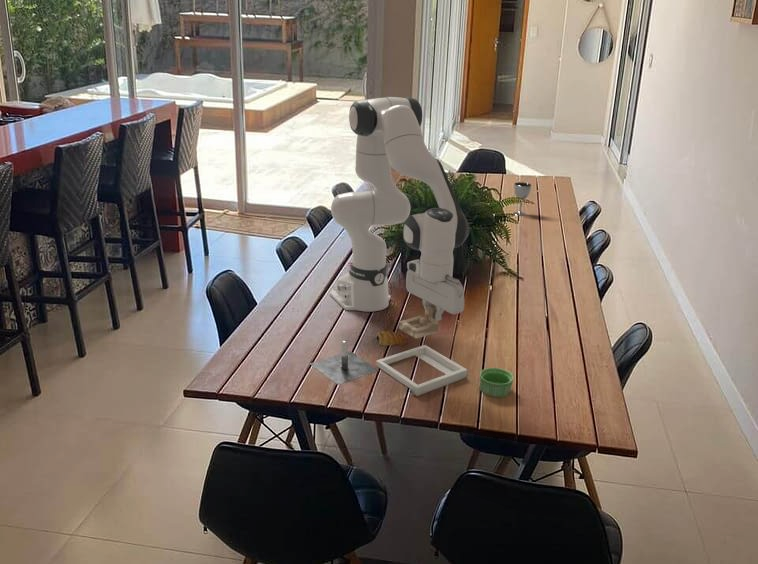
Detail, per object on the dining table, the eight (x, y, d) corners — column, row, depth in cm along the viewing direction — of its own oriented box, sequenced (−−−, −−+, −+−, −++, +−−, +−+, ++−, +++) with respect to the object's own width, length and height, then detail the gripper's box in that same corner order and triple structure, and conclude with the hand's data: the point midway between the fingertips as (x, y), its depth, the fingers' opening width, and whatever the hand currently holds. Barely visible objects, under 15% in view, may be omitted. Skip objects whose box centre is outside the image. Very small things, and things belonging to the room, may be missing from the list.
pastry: (403, 337, 219) (404, 326, 217) (409, 347, 213) (410, 336, 211) (373, 339, 217) (374, 328, 215) (379, 350, 211) (379, 338, 209)
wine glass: (508, 211, 355) (511, 182, 349) (522, 211, 357) (526, 182, 351) (516, 216, 348) (519, 186, 342) (530, 215, 350) (534, 185, 344)
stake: (309, 366, 199) (309, 337, 196) (350, 354, 207) (351, 326, 204) (337, 388, 189) (337, 358, 185) (379, 373, 197) (380, 344, 193)
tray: (375, 368, 199) (376, 360, 198) (424, 352, 210) (425, 344, 209) (416, 396, 186) (417, 388, 185) (466, 377, 196) (467, 369, 195)
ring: (398, 328, 192) (399, 308, 190) (426, 320, 198) (427, 300, 196) (416, 338, 187) (417, 318, 184) (444, 329, 192) (446, 309, 190)
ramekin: (508, 381, 195) (509, 367, 194) (515, 398, 187) (517, 384, 185) (475, 381, 195) (477, 367, 193) (481, 398, 187) (482, 383, 185)
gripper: (472, 279, 183) (467, 328, 188) (420, 257, 198) (418, 302, 203) (453, 284, 179) (450, 334, 184) (403, 261, 194) (400, 307, 199)
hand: (432, 317), depth 193 cm, fingers closed on ring
